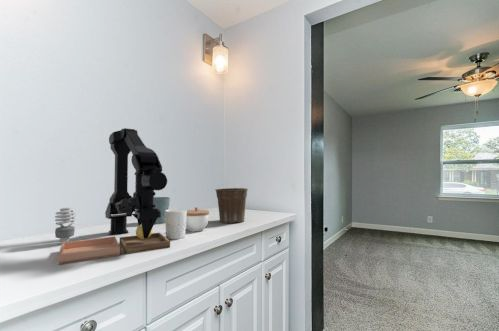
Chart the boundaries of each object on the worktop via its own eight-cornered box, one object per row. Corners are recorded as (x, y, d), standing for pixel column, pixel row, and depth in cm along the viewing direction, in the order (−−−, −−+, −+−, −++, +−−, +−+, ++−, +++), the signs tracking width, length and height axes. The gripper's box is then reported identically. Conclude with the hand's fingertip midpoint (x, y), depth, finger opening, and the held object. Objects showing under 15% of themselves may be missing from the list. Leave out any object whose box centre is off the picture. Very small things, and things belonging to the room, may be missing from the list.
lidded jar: (181, 228, 109) (181, 206, 110) (205, 226, 114) (205, 205, 114) (185, 233, 100) (185, 209, 100) (212, 231, 104) (212, 208, 104)
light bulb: (78, 242, 87) (79, 207, 88) (62, 246, 82) (63, 209, 82) (67, 240, 89) (68, 206, 90) (50, 244, 84) (51, 208, 84)
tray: (119, 243, 86) (119, 237, 86) (159, 238, 93) (159, 232, 93) (125, 254, 74) (125, 247, 74) (170, 247, 81) (170, 240, 81)
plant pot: (210, 223, 120) (210, 189, 121) (221, 218, 136) (221, 187, 136) (243, 225, 117) (243, 190, 117) (251, 219, 132) (250, 188, 133)
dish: (62, 250, 77) (62, 242, 77) (114, 243, 85) (114, 236, 85) (58, 264, 65) (58, 255, 65) (119, 255, 73) (119, 246, 73)
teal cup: (143, 223, 122) (143, 198, 122) (160, 219, 131) (160, 196, 131) (157, 225, 117) (157, 199, 117) (174, 221, 125) (174, 197, 126)
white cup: (180, 240, 89) (180, 212, 90) (160, 239, 91) (160, 211, 91) (190, 235, 97) (190, 209, 97) (171, 234, 99) (171, 208, 99)
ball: (134, 238, 84) (134, 223, 84) (150, 236, 87) (150, 221, 87) (137, 241, 80) (137, 225, 80) (153, 239, 83) (153, 224, 83)
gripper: (114, 188, 87) (113, 234, 87) (121, 191, 72) (120, 247, 71) (148, 187, 93) (148, 230, 93) (161, 190, 78) (160, 241, 77)
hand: (144, 236), depth 83 cm, fingers closed on ball, 5 cm apart
